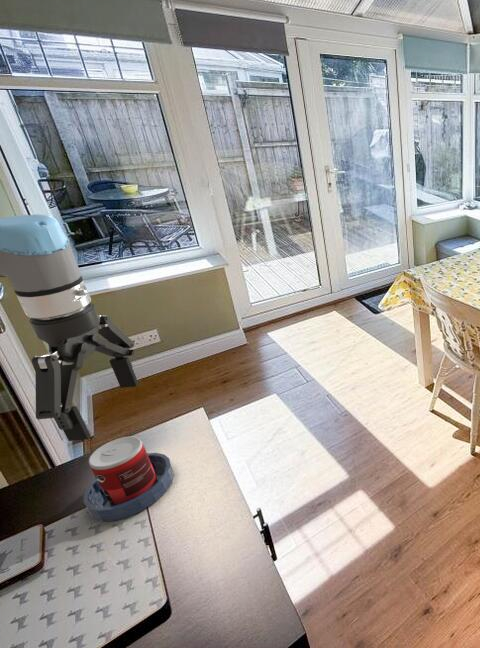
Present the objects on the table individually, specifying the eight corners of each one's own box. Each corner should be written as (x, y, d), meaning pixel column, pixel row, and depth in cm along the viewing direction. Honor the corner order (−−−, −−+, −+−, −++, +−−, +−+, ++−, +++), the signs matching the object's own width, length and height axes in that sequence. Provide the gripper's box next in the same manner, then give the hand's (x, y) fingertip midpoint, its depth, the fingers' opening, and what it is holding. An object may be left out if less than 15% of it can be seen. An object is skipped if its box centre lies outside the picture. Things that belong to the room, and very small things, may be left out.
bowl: (77, 533, 77) (70, 520, 76) (105, 476, 88) (99, 464, 87) (165, 507, 82) (160, 495, 81) (181, 456, 93) (177, 445, 92)
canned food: (118, 480, 87) (99, 441, 83) (163, 469, 90) (148, 431, 85) (100, 512, 81) (78, 472, 76) (150, 500, 83) (132, 460, 79)
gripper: (24, 352, 57) (81, 462, 65) (134, 276, 79) (166, 366, 88) (-43, 356, 55) (24, 469, 64) (88, 278, 78) (125, 369, 86)
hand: (106, 410), depth 76 cm, fingers open, 13 cm apart
